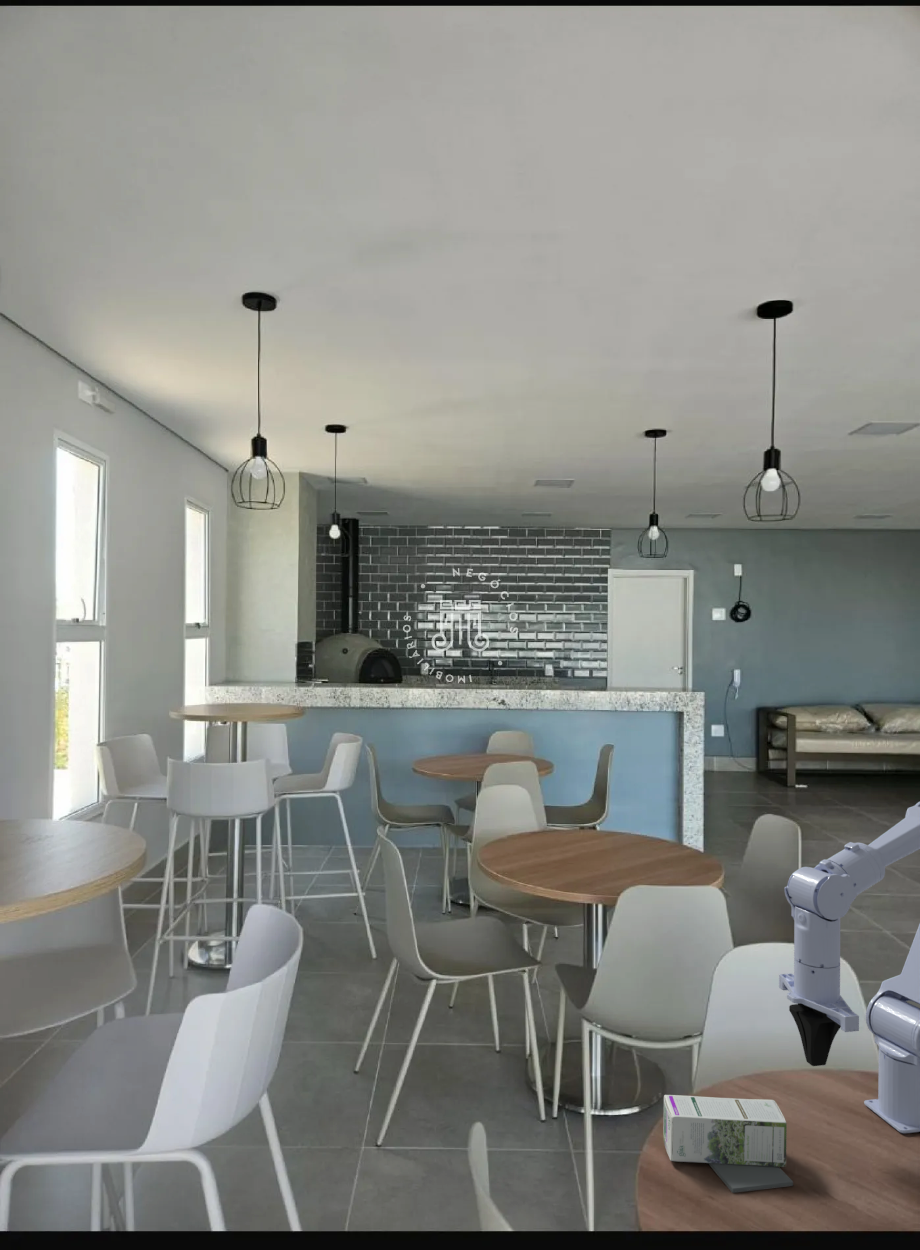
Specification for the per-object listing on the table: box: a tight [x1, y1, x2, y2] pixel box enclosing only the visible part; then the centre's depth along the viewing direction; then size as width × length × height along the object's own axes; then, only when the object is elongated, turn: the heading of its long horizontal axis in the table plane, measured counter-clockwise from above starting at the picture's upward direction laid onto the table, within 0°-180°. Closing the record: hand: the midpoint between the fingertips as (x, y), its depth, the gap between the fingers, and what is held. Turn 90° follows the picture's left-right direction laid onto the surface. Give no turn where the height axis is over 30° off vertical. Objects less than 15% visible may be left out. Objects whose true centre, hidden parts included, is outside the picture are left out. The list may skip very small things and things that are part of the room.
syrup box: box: [662, 1094, 788, 1168], centre depth 111 cm, size 6×6×14 cm
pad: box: [707, 1163, 794, 1194], centre depth 109 cm, size 8×9×1 cm
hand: (816, 1063), depth 116 cm, fingers closed
